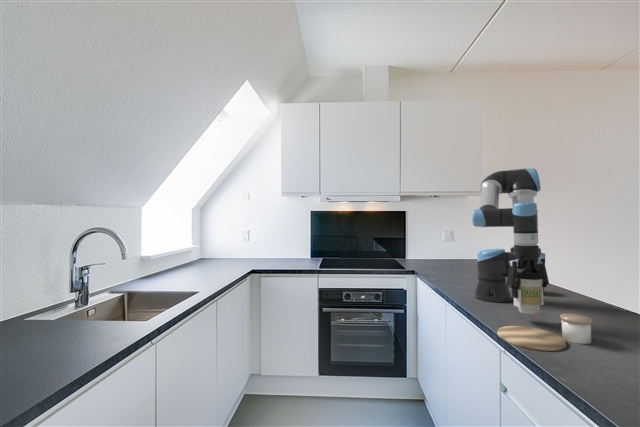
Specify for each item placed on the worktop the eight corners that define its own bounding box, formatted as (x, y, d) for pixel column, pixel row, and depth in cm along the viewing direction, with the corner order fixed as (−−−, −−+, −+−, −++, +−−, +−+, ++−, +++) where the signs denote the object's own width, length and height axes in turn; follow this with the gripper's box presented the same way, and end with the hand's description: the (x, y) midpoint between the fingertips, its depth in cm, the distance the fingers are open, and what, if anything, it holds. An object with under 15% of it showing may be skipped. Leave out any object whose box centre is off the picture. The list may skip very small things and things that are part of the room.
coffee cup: (507, 310, 112) (505, 271, 111) (522, 305, 116) (520, 267, 116) (536, 318, 103) (534, 275, 103) (551, 312, 107) (549, 271, 107)
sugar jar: (554, 336, 96) (553, 314, 96) (574, 333, 98) (573, 312, 98) (579, 345, 89) (577, 322, 89) (599, 343, 90) (598, 320, 90)
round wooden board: (484, 330, 102) (484, 328, 102) (529, 325, 105) (529, 323, 105) (530, 354, 84) (530, 351, 84) (582, 347, 88) (582, 344, 88)
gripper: (509, 247, 104) (511, 311, 104) (560, 243, 107) (562, 305, 108) (492, 245, 111) (495, 305, 111) (541, 241, 115) (543, 299, 115)
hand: (528, 305), depth 109 cm, fingers closed on coffee cup, 9 cm apart
